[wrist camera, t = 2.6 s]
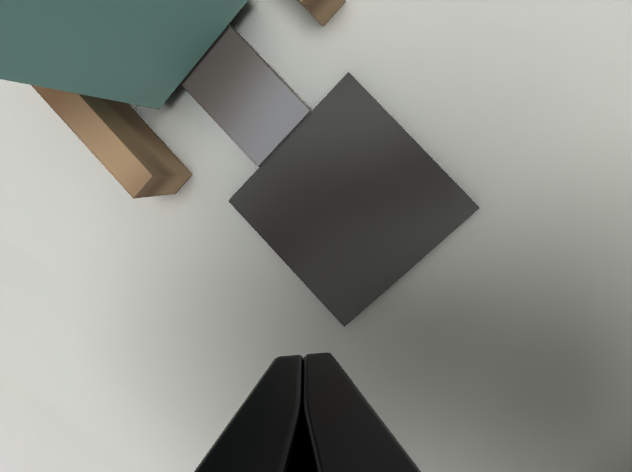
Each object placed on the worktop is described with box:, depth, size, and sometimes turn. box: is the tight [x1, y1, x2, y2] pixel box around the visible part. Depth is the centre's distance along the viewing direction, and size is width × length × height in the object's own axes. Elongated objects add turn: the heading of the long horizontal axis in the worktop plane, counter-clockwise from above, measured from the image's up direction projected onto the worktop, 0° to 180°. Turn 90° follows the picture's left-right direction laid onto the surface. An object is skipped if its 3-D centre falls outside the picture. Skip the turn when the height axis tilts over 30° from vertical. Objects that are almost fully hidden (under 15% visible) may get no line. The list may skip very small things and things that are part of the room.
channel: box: [32, 0, 479, 326], centre depth 19 cm, size 28×10×3 cm, turn 44°
